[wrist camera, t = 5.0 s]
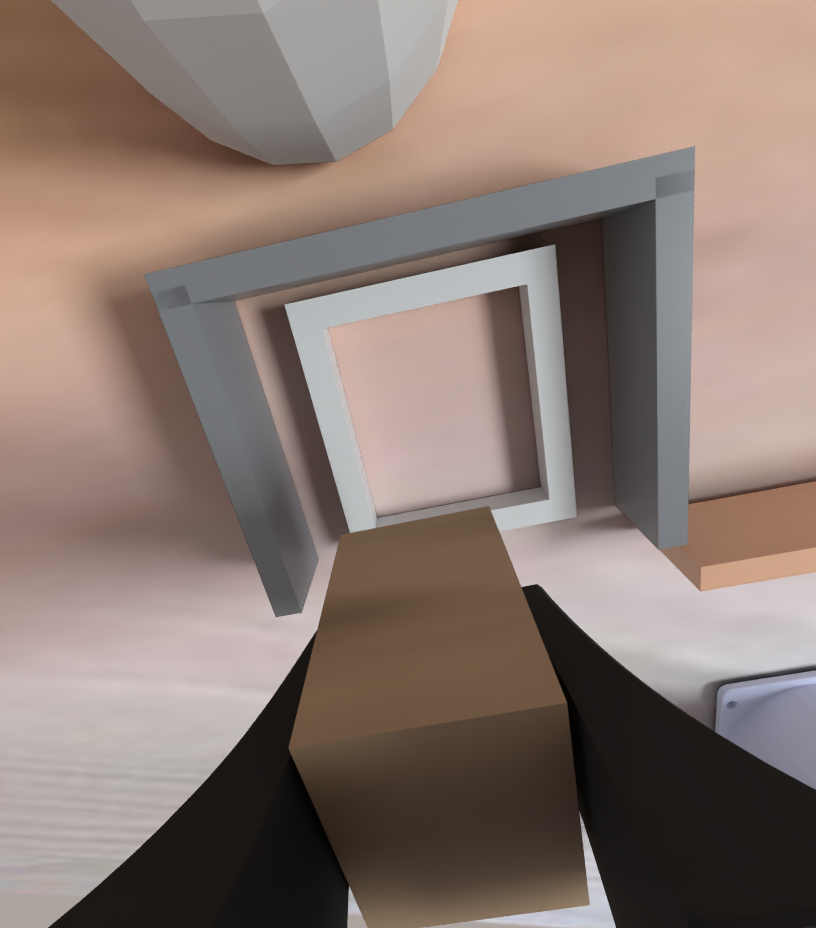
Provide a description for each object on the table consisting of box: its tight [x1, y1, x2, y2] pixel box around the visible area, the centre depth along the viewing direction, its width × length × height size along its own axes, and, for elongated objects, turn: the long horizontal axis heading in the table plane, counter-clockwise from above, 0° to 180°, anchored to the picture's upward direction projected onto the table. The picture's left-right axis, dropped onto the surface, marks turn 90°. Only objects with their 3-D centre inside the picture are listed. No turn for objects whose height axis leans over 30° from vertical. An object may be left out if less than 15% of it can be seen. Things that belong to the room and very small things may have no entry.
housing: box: [144, 146, 695, 617], centre depth 16 cm, size 12×15×4 cm
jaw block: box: [289, 506, 590, 928], centre depth 10 cm, size 5×4×6 cm
